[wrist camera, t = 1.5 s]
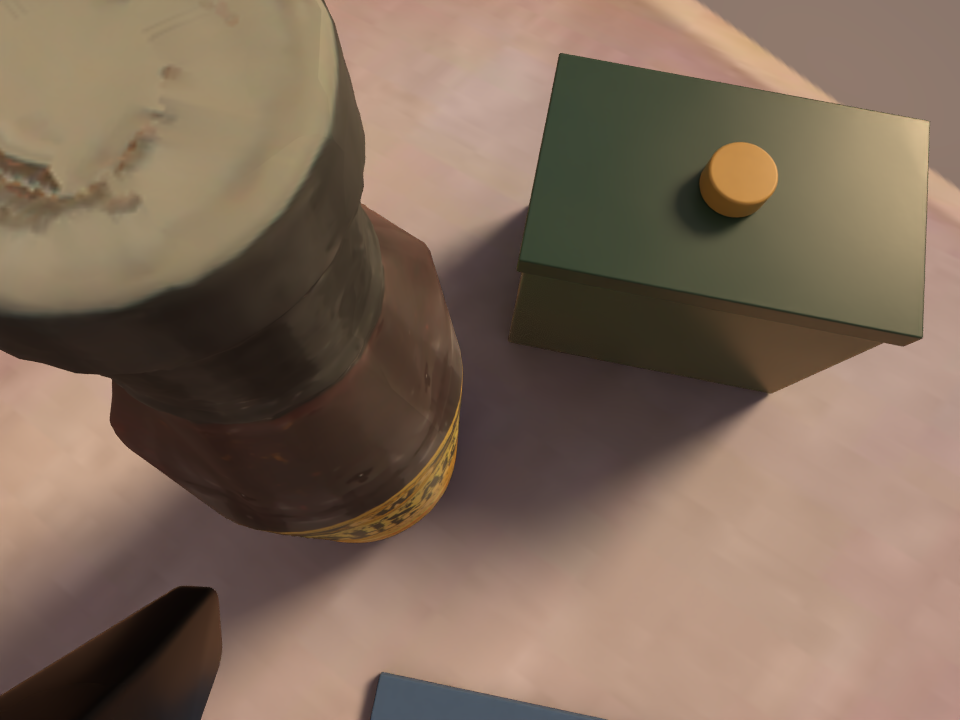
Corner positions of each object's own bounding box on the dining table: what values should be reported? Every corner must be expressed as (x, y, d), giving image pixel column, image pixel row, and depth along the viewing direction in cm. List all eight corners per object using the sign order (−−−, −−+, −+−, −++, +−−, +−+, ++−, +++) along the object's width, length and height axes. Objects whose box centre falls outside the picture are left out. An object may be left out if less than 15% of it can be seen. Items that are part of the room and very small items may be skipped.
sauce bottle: (343, 578, 23) (-307, 806, 4) (250, 429, 24) (-596, 16, 5) (499, 468, 24) (630, 195, 5) (402, 331, 25) (195, -329, 6)
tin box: (776, 400, 25) (945, 329, 16) (501, 346, 25) (520, 247, 16) (790, 244, 26) (951, 102, 18) (531, 194, 27) (563, 30, 18)
